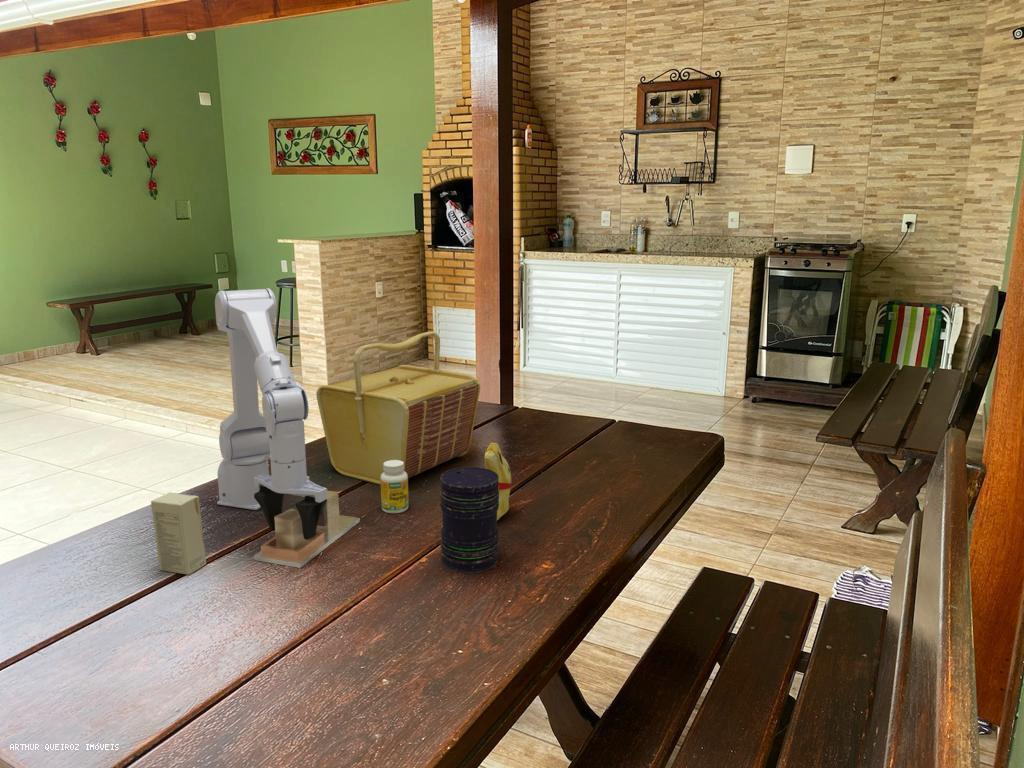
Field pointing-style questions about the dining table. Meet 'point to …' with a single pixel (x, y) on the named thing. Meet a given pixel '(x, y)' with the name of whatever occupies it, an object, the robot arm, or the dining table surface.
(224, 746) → the dining table surface
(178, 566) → the skincare box
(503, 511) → the chocolate bunny
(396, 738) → the dining table surface
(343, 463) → the picnic basket
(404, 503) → the supplement bottle
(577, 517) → the dining table surface
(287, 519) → the block
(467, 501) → the storage jar
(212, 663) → the dining table surface
